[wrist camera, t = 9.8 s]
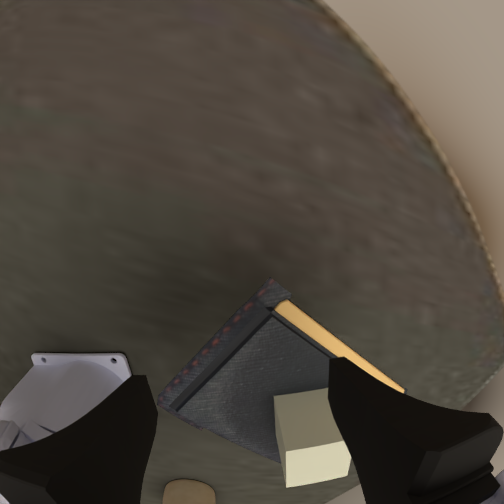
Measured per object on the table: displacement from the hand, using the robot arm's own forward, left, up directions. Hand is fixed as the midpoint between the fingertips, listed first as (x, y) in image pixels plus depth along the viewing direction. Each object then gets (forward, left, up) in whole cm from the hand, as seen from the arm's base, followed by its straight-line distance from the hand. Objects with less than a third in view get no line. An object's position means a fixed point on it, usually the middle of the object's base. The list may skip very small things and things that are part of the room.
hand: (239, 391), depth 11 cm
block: (+4, -10, -9) cm, 15 cm away
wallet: (+4, -11, -12) cm, 16 cm away
